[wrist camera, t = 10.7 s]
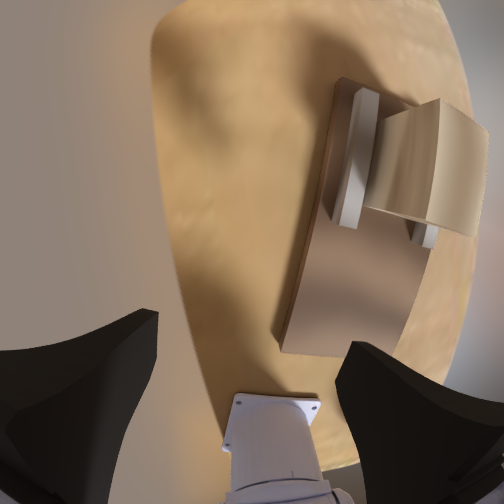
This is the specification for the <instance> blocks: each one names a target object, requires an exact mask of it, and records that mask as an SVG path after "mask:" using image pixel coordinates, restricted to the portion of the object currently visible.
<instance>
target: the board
mask: <svg viewBox="0 0 504 504" xmlns="http://www.w3.org/2000/svg"><path fill="white" fill-rule="evenodd" d="M411 108H414V107H412V106H410V105H408V104H406V103H404V102H402V101H400V100H398V99H396V98H394V97H392V96H389V95H387V94H385V93H382V92H380V91H378V90H375V89H373V88H370V87H368V86H365V85H363V84H360V83H358V82H355V81H352V80H349V79H346V78H344V77H341V78H340V79H339V80H338V81H337V82H336V86H335V93H334V100H333V106H332V112H331V118H330V124H329V130H328V136H327V141H326V147H325V152H324V157H323V163H322V168H321V173H320V178H319V183H318V188H317V193H316V197H315V202H314V207H313V211H312V216H311V220H310V225H309V229H308V233H307V238H306V242H305V246H304V250H303V255H302V259H301V263H300V267H299V271H298V275H297V279H296V283H295V286H294V290H293V294H292V298H291V302H290V305H289V309H288V313H287V316H286V320H285V324H284V327H283V331H282V334H281V338H280V341H279V348H280V352H281V353H290V354H300V355H312V356H325V357H342V358H345V357H346V355H347V352H348V350H349V348H350V345H351V343H352V341H364V342H368V343H370V344H372V345H374V346H375V347H377V348H379V349H380V350H382V351H384V352H385V353H387V354H388V355H390V356H392V354H393V352H394V350H395V348H396V345H397V343H398V341H399V339H400V336H401V334H402V332H403V329H404V327H405V324H406V322H407V319H408V317H409V314H410V312H411V309H412V307H413V304H414V301H415V298H416V296H417V293H418V290H419V287H420V284H421V281H422V278H423V275H424V271H425V268H426V265H427V261H428V258H429V254H430V251H431V249H433V250H434V246H435V242H436V238H437V234H438V230H439V228H438V227H434V226H431V225H427V224H424V223H420V222H416V221H413V220H409V219H406V218H403V217H399V216H396V215H393V214H390V213H386V212H383V211H380V210H376V209H373V208H369V207H366V206H363V201H364V196H365V191H366V186H367V181H368V176H369V171H370V165H371V159H372V153H373V147H374V140H375V134H376V126H377V122H378V121H380V120H383V119H385V118H388V117H390V116H393V115H395V114H398V113H401V112H403V111H406V110H408V109H411Z"/></svg>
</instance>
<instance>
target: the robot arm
mask: <svg viewBox="0 0 504 504" xmlns="http://www.w3.org/2000/svg"><path fill="white" fill-rule="evenodd" d="M158 314H159V312H157V311H152V310H147V309H143V308H142V309H139V310H137V311H135V312H133V313H131V314H129V315H127V316H125V317H123V318H121V319H119V320H117V321H115V322H112V323H110V324H108V325H106V326H104V327H101V328H99V329H97V330H94V331H92V332H89V333H87V334H85V335H82V336H79V337H77V338H74V339H70V340H67V341H63V342H59V343H56V344H52V345H46V346H41V347H35V348H29V349H21V350H6V351H0V504H108V498H109V492H110V488H111V483H112V478H113V474H114V470H115V466H116V462H117V458H118V454H119V451H120V447H121V444H122V440H123V438H124V434H125V432H126V429H127V427H128V424H129V422H130V420H131V418H132V416H133V413H134V411H135V409H136V407H137V405H138V403H139V401H140V399H141V396H142V394H143V392H144V390H145V388H146V386H147V384H148V382H149V380H150V377H151V374H152V371H153V368H154V365H155V362H156V358H157V333H158V332H157V331H158ZM335 385H336V390H337V395H338V399H339V403H340V406H341V408H342V411H343V413H344V416H345V419H346V421H347V424H348V426H349V429H350V431H351V434H352V437H353V439H354V442H355V444H356V447H357V450H358V454H359V458H360V462H361V467H362V471H363V477H364V483H365V489H366V499H367V504H504V469H503V467H502V466H501V464H502V463H503V462H504V457H503V456H502V454H503V453H504V403H501V402H494V401H489V400H484V399H479V398H475V397H472V396H469V395H465V394H462V393H459V392H457V391H454V390H451V389H449V388H447V387H444V386H442V385H440V384H438V383H436V382H434V381H432V380H430V379H428V378H426V377H424V376H423V375H421V374H419V373H417V372H416V371H414V370H412V369H411V368H409V367H407V366H406V365H404V364H403V363H401V362H399V361H398V360H396V359H395V358H393V357H392V356H390V355H388V354H387V353H385V352H384V351H382V350H380V349H379V348H377V347H375V346H374V345H372V344H370V343H368V342H364V341H352V343H351V345H350V348H349V350H348V352H347V355H346V357H345V360H344V362H343V364H342V366H341V369H340V371H339V373H338V375H337V378H336V380H335ZM237 401H241V402H237ZM320 405H321V401H320V399H317V398H291V397H276V396H264V395H254V394H245V393H237V394H235V396H234V399H233V403H232V407H231V412H230V416H229V420H228V424H227V428H226V432H225V436H224V440H223V444H222V450H223V451H225V452H231V492H226V499H225V503H217V504H354V502H353V499H352V498H351V496H350V495H349V494H348V493H346V492H344V491H343V490H342V489H340V488H336V489H332V490H331V488H330V484H329V480H323V477H322V473H321V469H320V465H319V461H318V458H317V454H316V450H315V446H314V443H313V439H312V435H311V431H310V427H309V426H310V425H311V423H312V421H313V419H314V417H315V415H316V413H317V411H318V409H319V407H320ZM314 406H315V407H314Z"/></svg>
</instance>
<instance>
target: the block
mask: <svg viewBox="0 0 504 504" xmlns="http://www.w3.org/2000/svg"><path fill="white" fill-rule="evenodd" d="M488 138H489V132H488V131H487V130H485V129H484V128H483V127H481V126H480V125H479V124H478V123H476V122H475V121H474V120H472V119H471V118H469V117H468V116H467V115H465V114H464V113H462V112H461V111H459V110H458V109H456V108H455V107H453V106H452V105H450V104H449V103H447V102H446V101H444V100H442V99H441V98H439V99H436V100H433V101H430V102H428V103H425V104H422V105H419V106H417V107H414V108H411V109H408V110H406V111H403V112H401V113H398V114H395V115H393V116H390V117H388V118H385V119H383V120H380V121H378V122H377V126H376V134H375V140H374V147H373V153H372V159H371V165H370V171H369V176H368V181H367V186H366V191H365V196H364V201H363V206H366V207H369V208H373V209H376V210H380V211H383V212H386V213H390V214H393V215H396V216H399V217H403V218H406V219H409V220H413V221H416V222H420V223H424V224H427V225H431V226H434V227H438V228H441V229H445V230H448V231H451V232H455V233H458V234H461V235H464V236H468V237H471V238H474V239H476V234H477V230H478V225H479V220H480V215H481V209H482V203H483V197H484V190H485V182H486V172H487V161H488V141H489V139H488Z"/></svg>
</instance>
